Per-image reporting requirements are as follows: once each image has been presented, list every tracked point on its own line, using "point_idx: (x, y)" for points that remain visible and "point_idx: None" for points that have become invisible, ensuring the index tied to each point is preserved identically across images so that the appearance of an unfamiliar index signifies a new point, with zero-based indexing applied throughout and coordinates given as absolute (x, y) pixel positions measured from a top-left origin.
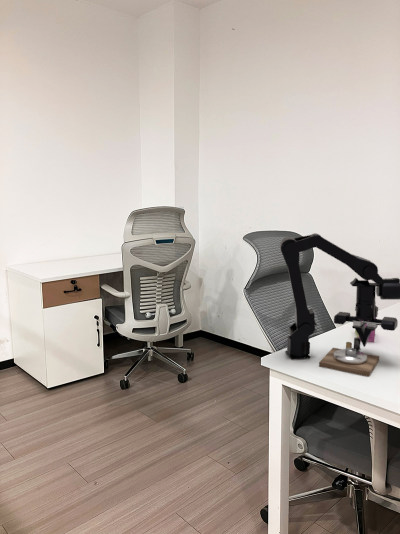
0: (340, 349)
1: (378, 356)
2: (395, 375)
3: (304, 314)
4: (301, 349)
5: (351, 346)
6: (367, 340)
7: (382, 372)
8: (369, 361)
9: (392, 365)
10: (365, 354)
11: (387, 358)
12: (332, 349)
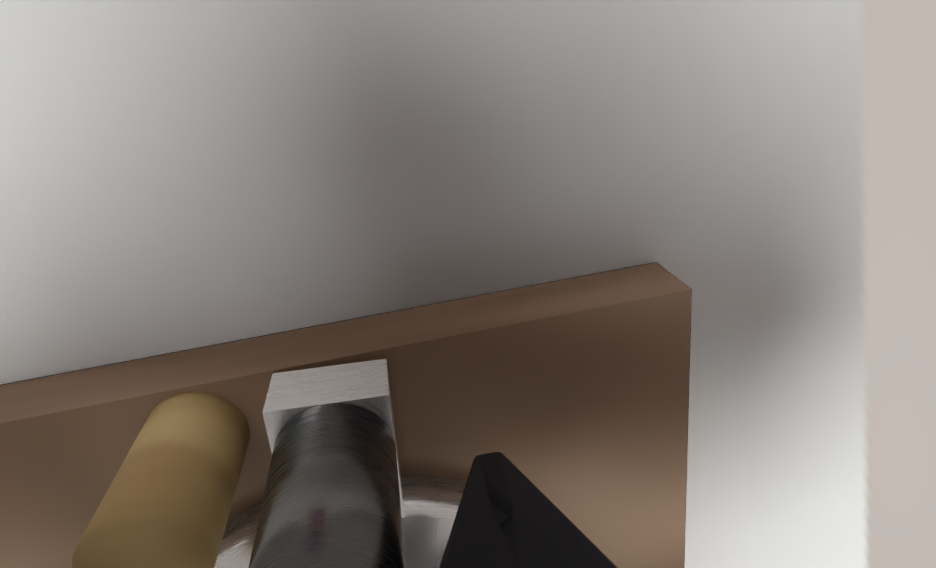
0: (29, 445)
1: (680, 314)
2: (866, 527)
3: None
4: None
5: (227, 504)
6: (569, 525)
7: (747, 548)
8: (614, 552)
9: (829, 304)
10: None
11: (747, 79)
12: None
